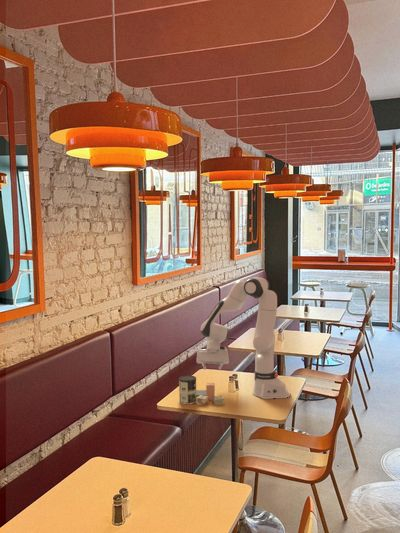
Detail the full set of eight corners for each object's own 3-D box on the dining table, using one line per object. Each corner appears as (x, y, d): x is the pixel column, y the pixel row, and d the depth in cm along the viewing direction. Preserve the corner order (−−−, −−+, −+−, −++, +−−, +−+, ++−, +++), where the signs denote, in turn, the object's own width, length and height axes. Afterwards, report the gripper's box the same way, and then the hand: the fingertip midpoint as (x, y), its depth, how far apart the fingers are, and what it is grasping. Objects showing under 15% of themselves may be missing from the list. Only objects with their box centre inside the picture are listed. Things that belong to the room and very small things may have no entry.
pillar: (214, 397, 296) (214, 383, 295) (214, 400, 291) (213, 385, 290) (207, 397, 296) (207, 382, 295) (206, 400, 292) (206, 385, 291)
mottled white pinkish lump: (208, 402, 287) (208, 396, 287) (204, 405, 283) (204, 399, 282) (200, 401, 289) (200, 395, 289) (196, 404, 285) (196, 397, 285)
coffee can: (196, 398, 295) (196, 375, 294) (196, 404, 285) (196, 380, 284) (179, 398, 295) (179, 375, 294) (178, 404, 285) (178, 380, 284)
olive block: (221, 401, 289) (221, 396, 289) (223, 404, 284) (223, 398, 284) (213, 402, 288) (213, 396, 288) (214, 405, 283) (214, 399, 283)
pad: (210, 391, 306) (210, 390, 306) (208, 396, 297) (208, 395, 297) (195, 391, 307) (195, 390, 307) (193, 396, 298) (193, 395, 298)
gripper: (196, 346, 312) (194, 366, 303) (228, 347, 309) (228, 367, 300) (197, 352, 317) (195, 371, 308) (229, 352, 314) (228, 372, 305)
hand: (212, 369), depth 304 cm, fingers open, 8 cm apart
